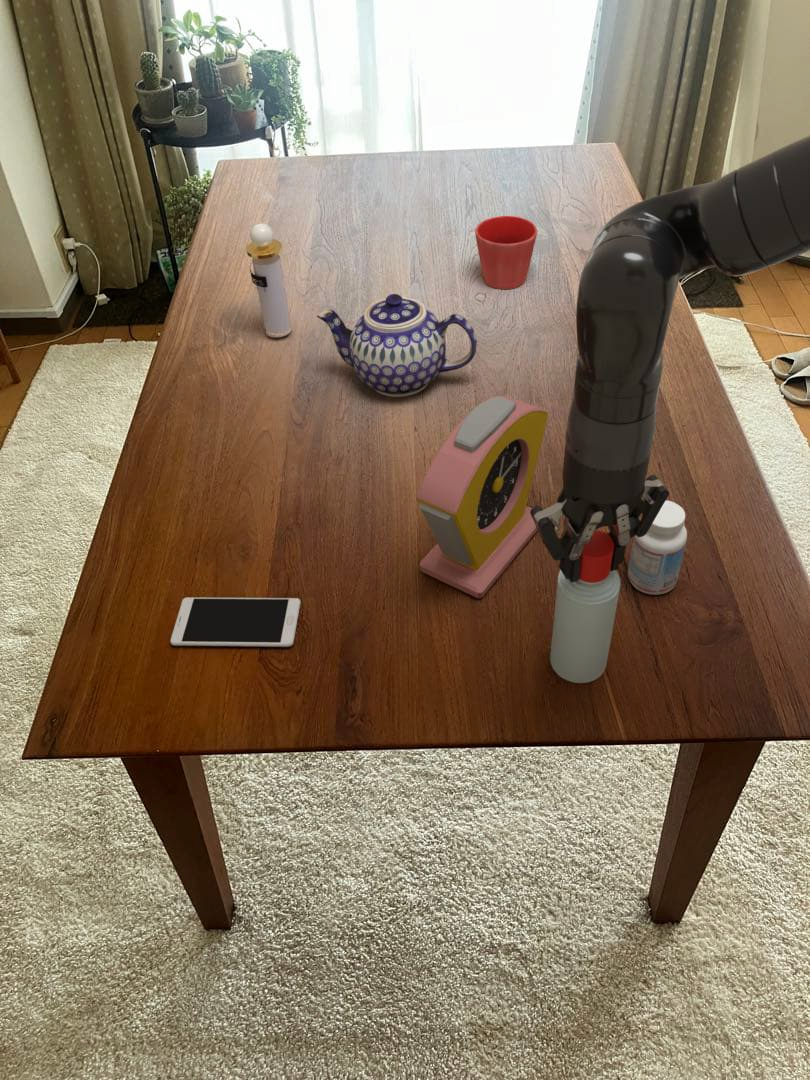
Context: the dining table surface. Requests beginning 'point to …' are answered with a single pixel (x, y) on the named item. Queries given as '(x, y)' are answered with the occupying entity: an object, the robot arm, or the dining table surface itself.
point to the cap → (596, 558)
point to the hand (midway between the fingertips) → (590, 569)
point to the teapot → (397, 345)
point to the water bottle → (583, 627)
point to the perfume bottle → (269, 279)
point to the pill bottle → (659, 552)
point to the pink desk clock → (482, 493)
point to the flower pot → (505, 250)
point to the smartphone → (236, 622)
